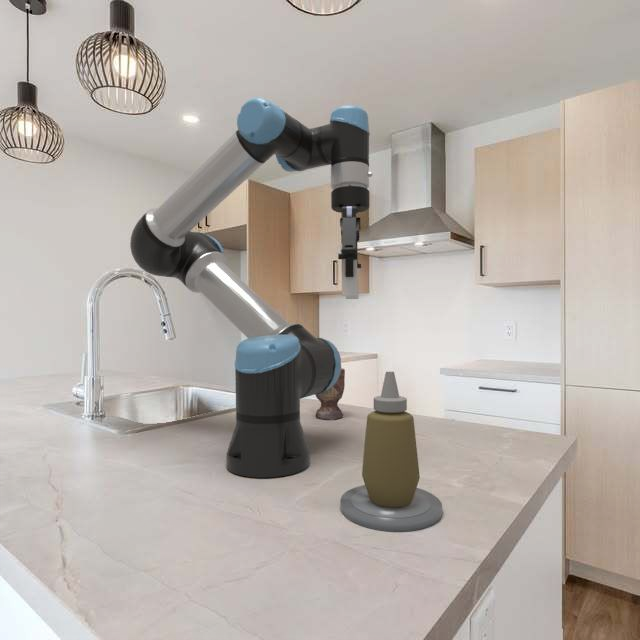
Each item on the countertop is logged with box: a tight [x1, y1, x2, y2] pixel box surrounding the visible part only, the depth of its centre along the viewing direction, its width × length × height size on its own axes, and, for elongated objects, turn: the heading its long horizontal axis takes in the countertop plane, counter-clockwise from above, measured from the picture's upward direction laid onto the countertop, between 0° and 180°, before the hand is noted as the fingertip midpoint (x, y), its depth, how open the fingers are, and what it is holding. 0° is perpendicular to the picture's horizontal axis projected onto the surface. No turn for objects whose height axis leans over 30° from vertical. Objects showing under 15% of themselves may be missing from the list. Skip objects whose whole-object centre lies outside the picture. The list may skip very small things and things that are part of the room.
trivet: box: [339, 484, 443, 533], centre depth 64 cm, size 14×14×1 cm
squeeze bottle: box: [361, 371, 421, 507], centre depth 64 cm, size 8×8×18 cm
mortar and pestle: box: [315, 367, 346, 421], centre depth 125 cm, size 12×9×20 cm
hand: (350, 297), depth 90 cm, fingers open, 13 cm apart
